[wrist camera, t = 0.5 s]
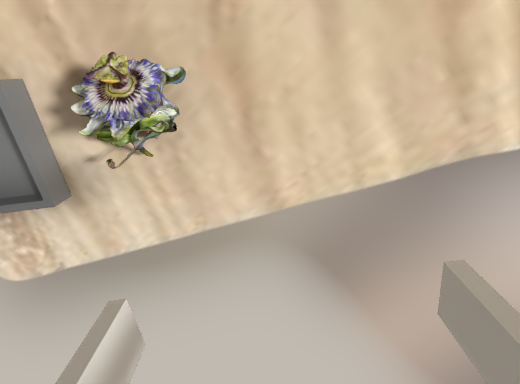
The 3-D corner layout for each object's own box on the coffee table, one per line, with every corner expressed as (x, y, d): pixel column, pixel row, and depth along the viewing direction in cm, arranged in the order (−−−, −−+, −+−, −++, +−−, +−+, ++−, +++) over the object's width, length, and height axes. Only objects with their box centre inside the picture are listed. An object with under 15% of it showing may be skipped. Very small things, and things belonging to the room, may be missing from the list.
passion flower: (157, 71, 39) (183, 34, 28) (180, 152, 41) (212, 144, 31) (59, 82, 33) (47, 41, 23) (92, 173, 36) (95, 173, 25)
